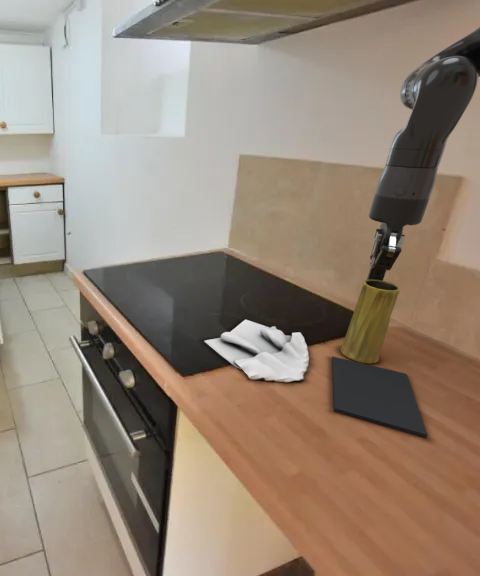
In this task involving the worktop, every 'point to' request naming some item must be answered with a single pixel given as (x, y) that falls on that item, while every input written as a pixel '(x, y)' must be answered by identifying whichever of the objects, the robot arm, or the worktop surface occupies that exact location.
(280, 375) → the cloth
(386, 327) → the vase
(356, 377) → the mat
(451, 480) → the worktop surface
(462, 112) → the robot arm
